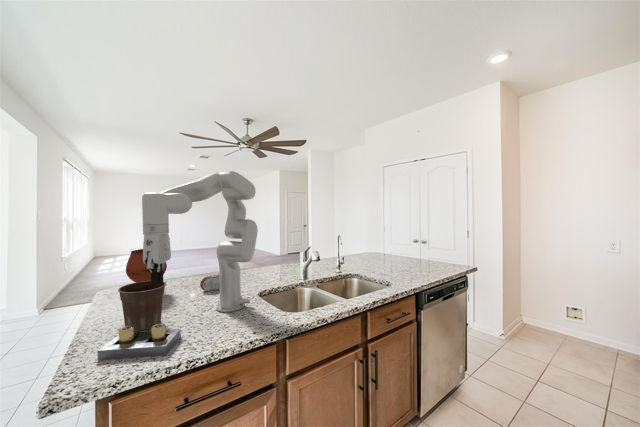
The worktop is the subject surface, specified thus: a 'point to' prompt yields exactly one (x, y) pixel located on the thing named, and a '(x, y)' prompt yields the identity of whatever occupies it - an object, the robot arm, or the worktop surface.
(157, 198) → the robot arm
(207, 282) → the tin
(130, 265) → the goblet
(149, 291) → the plant pot
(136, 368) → the worktop surface
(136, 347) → the jig
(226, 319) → the worktop surface
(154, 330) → the brass cylinder
